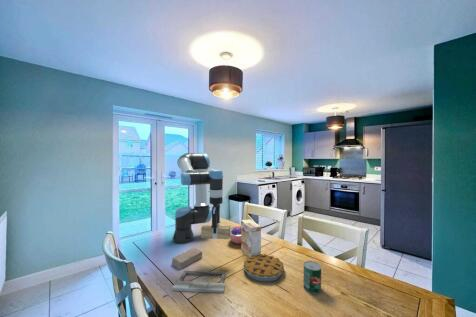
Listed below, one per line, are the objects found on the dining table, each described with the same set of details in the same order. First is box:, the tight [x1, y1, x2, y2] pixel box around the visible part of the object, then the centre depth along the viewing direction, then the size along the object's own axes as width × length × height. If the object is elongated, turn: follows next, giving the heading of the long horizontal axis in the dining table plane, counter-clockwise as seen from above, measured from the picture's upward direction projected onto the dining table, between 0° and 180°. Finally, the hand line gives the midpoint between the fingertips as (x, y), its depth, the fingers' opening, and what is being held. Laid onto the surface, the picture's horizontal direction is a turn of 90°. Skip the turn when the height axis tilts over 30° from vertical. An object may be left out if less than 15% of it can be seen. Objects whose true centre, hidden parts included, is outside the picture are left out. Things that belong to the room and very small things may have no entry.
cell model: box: [229, 225, 241, 245], centre depth 146 cm, size 17×20×11 cm
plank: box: [200, 224, 231, 240], centre depth 117 cm, size 5×16×6 cm, turn 86°
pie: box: [242, 253, 285, 283], centre depth 109 cm, size 22×22×5 cm
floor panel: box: [171, 270, 226, 294], centre depth 99 cm, size 14×24×1 cm, turn 86°
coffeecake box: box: [240, 219, 262, 258], centre depth 128 cm, size 15×7×20 cm, turn 23°
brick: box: [171, 247, 203, 270], centre depth 119 cm, size 17×8×5 cm, turn 143°
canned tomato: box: [303, 260, 322, 295], centre depth 94 cm, size 8×8×11 cm
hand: (215, 236), depth 117 cm, fingers closed on plank, 5 cm apart
